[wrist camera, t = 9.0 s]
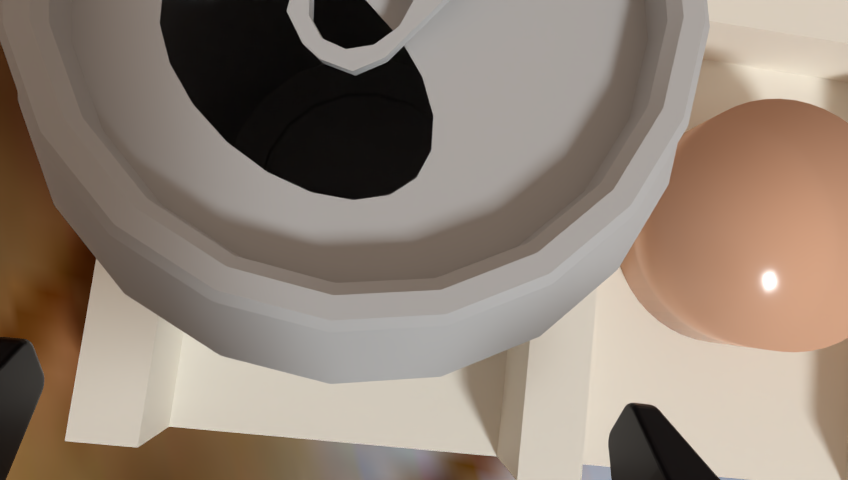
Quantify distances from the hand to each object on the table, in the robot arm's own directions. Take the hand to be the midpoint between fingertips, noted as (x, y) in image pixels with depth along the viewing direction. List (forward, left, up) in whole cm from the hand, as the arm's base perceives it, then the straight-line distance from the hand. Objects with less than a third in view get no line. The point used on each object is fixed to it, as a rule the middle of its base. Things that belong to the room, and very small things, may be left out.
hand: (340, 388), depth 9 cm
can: (+4, +1, -8) cm, 9 cm away
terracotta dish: (+7, -9, -7) cm, 14 cm away
